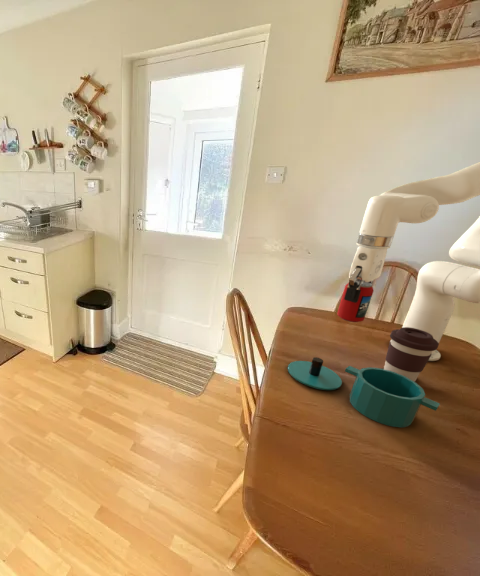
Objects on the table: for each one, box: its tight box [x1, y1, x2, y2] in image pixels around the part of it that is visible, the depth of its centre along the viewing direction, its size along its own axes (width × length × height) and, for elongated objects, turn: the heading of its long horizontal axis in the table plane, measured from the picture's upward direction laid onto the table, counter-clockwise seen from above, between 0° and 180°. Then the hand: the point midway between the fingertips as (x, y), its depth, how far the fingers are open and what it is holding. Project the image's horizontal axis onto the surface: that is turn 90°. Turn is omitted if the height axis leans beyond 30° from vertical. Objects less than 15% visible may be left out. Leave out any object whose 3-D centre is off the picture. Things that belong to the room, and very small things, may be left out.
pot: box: [344, 365, 441, 428], centre depth 80 cm, size 13×18×8 cm
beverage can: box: [336, 281, 374, 323], centre depth 96 cm, size 7×7×12 cm
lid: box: [287, 356, 343, 391], centre depth 93 cm, size 14×14×6 cm
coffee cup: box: [383, 327, 440, 382], centre depth 92 cm, size 10×10×15 cm
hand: (356, 297), depth 95 cm, fingers closed on beverage can, 6 cm apart
